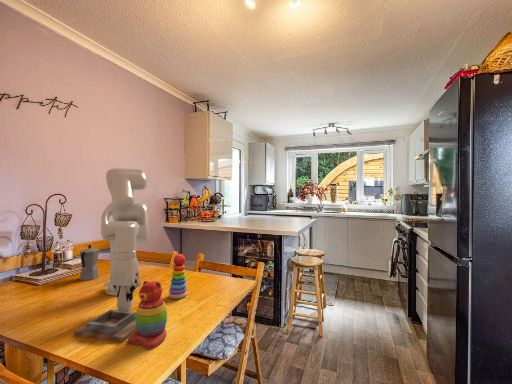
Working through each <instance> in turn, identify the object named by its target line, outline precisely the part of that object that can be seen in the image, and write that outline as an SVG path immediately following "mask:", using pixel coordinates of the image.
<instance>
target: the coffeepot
mask: <svg viewBox="0 0 512 384" xmlns="http://www.w3.org/2000/svg"><path fill="white" fill-rule="evenodd" d="M99 253H100V249H99V248H93V247H92V244H88V245H87V248H85V249H81V250H79V254H80V255H79V256H80V260H81V264H82V265H81V270H80V275H79V280H80V281H83V282H85V281H86V282H88V281H93V280H96V279H98V278H99V271H98V266H97V265H98V263H97V262H98V260H99V258H98V257H99Z"/></svg>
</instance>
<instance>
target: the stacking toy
mask: <svg viewBox="0 0 512 384" xmlns="http://www.w3.org/2000/svg"><path fill="white" fill-rule="evenodd" d="M172 261H173V263H174V265H173V267H172V268H173V269H172V272H171V273H172V275H171V280H170V285H169V286H170V287H169V289H168V297H169V298H170V299H173V300H178V299H179V300H181V299H183V298H186V297H187V296H188V291H187V282H186V281H187V279H186V274H185V273H186V270H185V268H186V265H185V262H186V258H185V256H184V254H181V253H178V254H175V255H174V257H173V260H172Z"/></svg>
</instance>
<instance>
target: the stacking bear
mask: <svg viewBox="0 0 512 384" xmlns="http://www.w3.org/2000/svg"><path fill="white" fill-rule="evenodd" d="M142 284H143V285H141V286H140V289H139V291H138V298H139V299H140V301H139V303H138V305H137V309H136V319H135V320H136V327H137V331H136V332H134V333H133V334H131V335H130V336H129V338H128V339H127V343H128V344H131V345H138V344H139V345H141V346H143V348H144V349H147V350H150V349H155V348H156V347H158V346H160V344H162V343H163V342H164V341H165V339H166V337H167V330H166V326H167V321H168V312H167V311H168V310H167V306H166V302H165V301H164V299H163V298H162V295H163V286H162V284H161V282H159V281H155V280H152V281H151V280H150V281H148V280H144V281H143V282H142Z"/></svg>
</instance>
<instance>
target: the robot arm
mask: <svg viewBox="0 0 512 384" xmlns="http://www.w3.org/2000/svg"><path fill="white" fill-rule="evenodd" d="M105 181H106V186H107V189H108V191H109V193H110V195H111V202H110V203H109V204H108V205H107V206H106V207H105V208H104V210H103V212H102V214H101V218H100V235H101V238H102V239H103V240H104V241H109V249H110V255H109V256H110V259H109V261H110V263H109V264H110V266H109V267H110V268H109V269H110V271H109V280H106V281H104V284H103V286H104V287H107V289H106V291H105V293H106V295H108V296H116V297H117V298H116V299H117V301H118V297H119V292H120V287H121V286H127V293H126V300H127V302H128V298H129V301H132V300H133V299H134V292H135V291H136V290H137V289H138V288H140V287H142V284H141V281H140V266H139V260H138V257H137V244H140V243H145V242H146V243H147V241H149V238H150V225H149V224H150V223H149V211H148V208H147V205H146V204H144V203H142V202H140V203H139V202H135V193H134V191H144V190H146V188H147V185H148V179H147V175H146V173H145V171H144V170H143V169H140V168H139V169H138V168H119V167H118V168H117V167H116V168H111V169H108V170H107V171H106V173H105ZM111 216H112V217H111ZM110 217H111V218H112V220H113V221H109V219H110ZM117 301H116V302H117ZM133 301H134V300H133Z"/></svg>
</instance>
